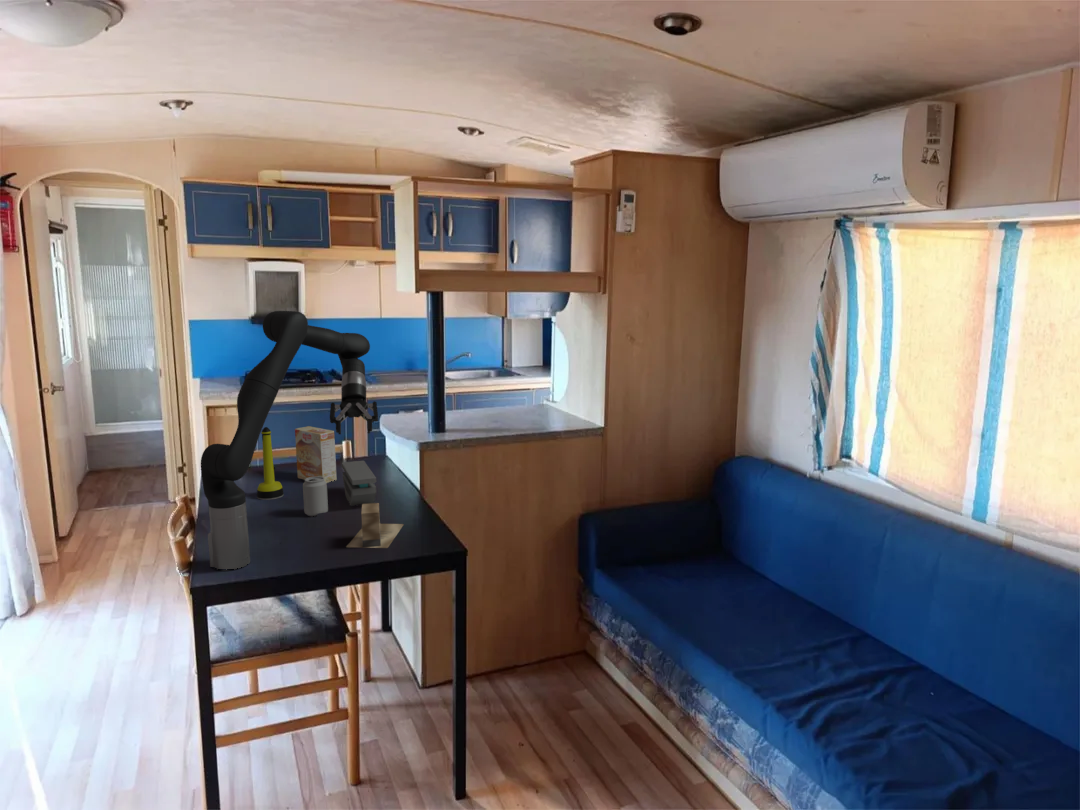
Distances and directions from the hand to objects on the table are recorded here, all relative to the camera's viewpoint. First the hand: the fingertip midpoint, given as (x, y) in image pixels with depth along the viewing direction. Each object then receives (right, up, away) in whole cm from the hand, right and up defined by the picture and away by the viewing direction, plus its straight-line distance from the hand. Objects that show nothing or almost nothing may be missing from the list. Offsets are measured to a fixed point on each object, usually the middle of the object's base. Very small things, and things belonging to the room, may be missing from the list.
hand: (354, 432), depth 221 cm
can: (-18, -28, +20) cm, 39 cm away
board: (+7, -32, -2) cm, 32 cm away
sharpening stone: (-7, -25, +35) cm, 43 cm away
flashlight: (-40, -24, +39) cm, 61 cm away
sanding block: (+7, -31, -8) cm, 33 cm away
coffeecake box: (-30, -20, +60) cm, 70 cm away
